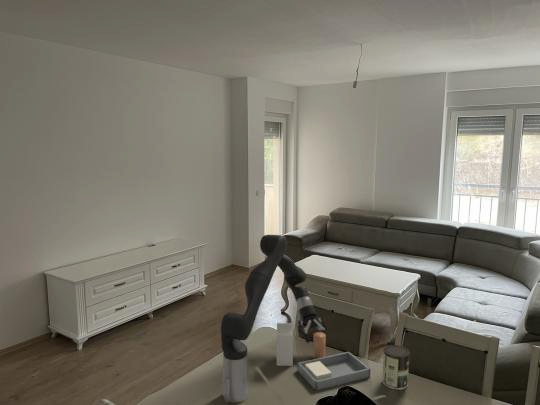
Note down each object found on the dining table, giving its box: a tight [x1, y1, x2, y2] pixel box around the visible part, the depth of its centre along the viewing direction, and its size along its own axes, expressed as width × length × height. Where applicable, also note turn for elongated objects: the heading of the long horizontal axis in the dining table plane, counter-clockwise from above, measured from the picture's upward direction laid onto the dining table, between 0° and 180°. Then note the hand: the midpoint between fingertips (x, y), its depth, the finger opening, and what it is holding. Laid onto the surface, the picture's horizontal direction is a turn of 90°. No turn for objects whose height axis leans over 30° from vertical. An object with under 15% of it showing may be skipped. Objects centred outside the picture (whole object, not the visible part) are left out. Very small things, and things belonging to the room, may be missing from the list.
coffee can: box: [382, 344, 411, 390], centre depth 170 cm, size 10×10×14 cm
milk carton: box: [276, 322, 294, 367], centre depth 184 cm, size 7×7×19 cm
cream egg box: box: [305, 361, 332, 381], centre depth 172 cm, size 7×10×4 cm
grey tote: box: [297, 351, 371, 392], centre depth 175 cm, size 26×16×4 cm, turn 113°
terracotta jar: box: [312, 331, 327, 360], centre depth 188 cm, size 6×6×12 cm
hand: (317, 340), depth 189 cm, fingers open, 8 cm apart
